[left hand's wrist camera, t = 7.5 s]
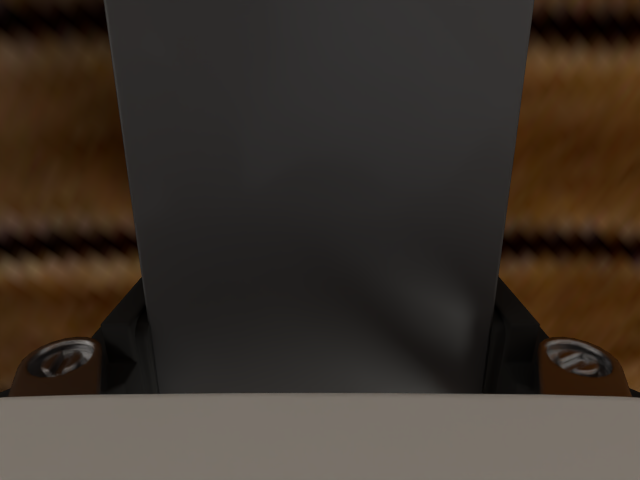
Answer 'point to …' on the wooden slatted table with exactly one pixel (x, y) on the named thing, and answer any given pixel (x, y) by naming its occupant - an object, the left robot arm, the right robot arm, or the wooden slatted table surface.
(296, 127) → the cabinet
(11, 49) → the wooden slatted table surface
